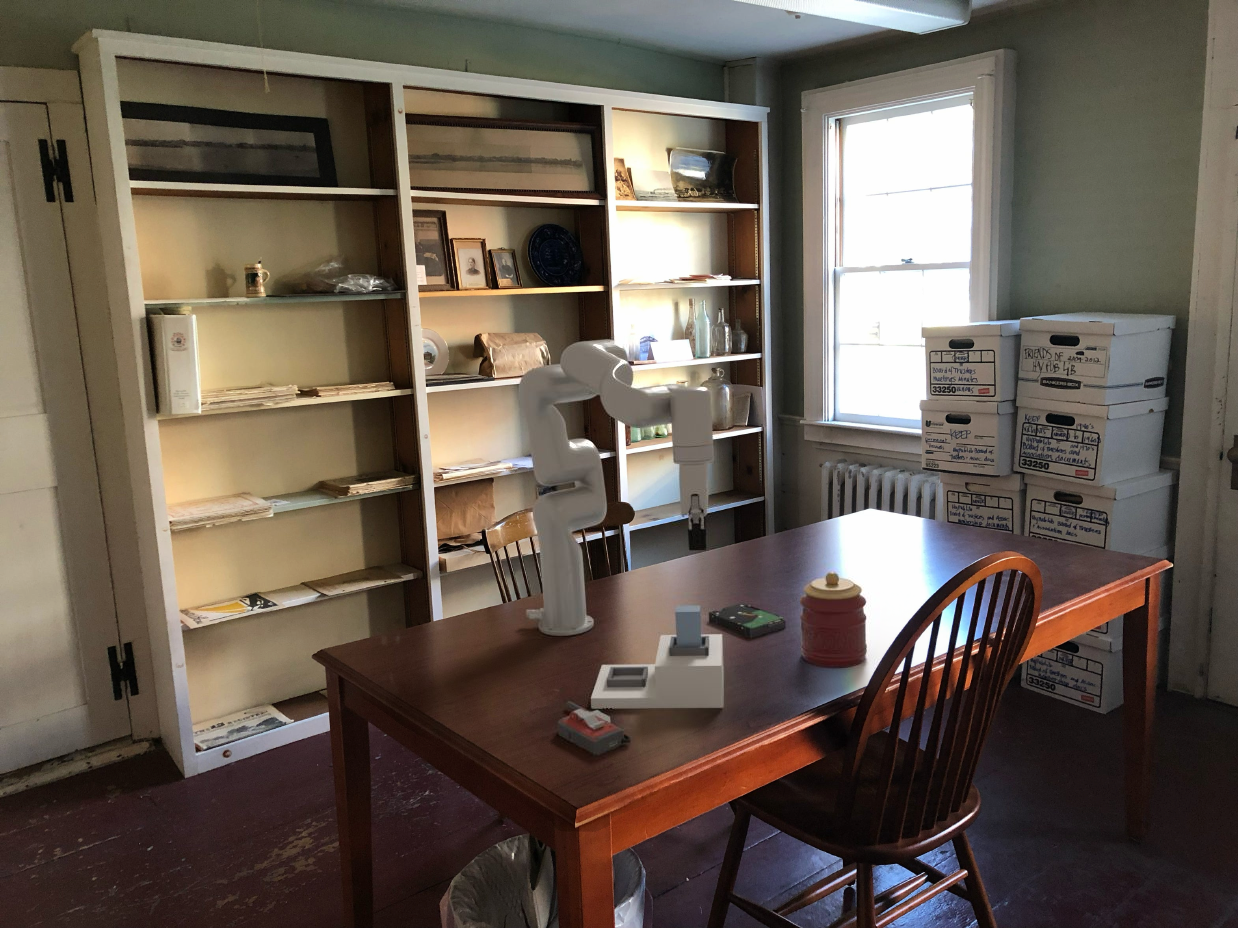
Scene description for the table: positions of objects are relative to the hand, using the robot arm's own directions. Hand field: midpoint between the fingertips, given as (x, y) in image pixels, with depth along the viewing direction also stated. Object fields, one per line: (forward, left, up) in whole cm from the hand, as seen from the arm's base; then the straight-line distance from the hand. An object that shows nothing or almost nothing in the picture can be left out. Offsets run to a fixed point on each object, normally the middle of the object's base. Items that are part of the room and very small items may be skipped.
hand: (697, 543), depth 182 cm
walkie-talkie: (-20, -22, -28) cm, 41 cm away
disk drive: (+9, +31, -28) cm, 43 cm away
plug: (-2, -5, -19) cm, 20 cm away
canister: (+26, +11, -28) cm, 39 cm away
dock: (-8, -5, -27) cm, 29 cm away
